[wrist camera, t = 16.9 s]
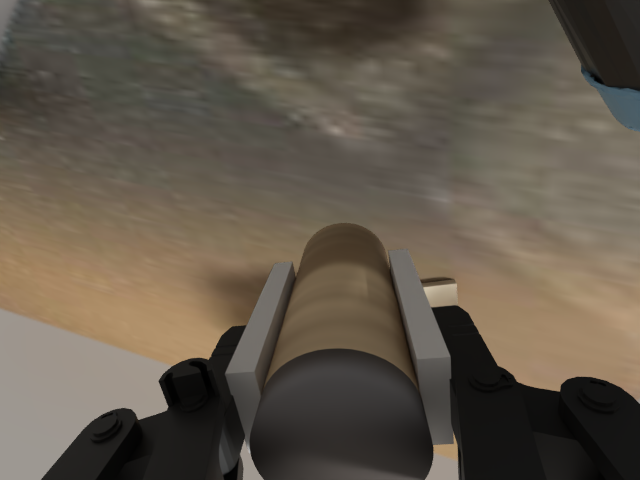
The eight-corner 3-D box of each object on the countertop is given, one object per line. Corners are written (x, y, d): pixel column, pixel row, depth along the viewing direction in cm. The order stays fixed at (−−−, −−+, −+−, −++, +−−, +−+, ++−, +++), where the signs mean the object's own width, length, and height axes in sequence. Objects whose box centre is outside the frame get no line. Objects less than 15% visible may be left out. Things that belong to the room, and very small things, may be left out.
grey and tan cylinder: (295, 229, 17) (229, 388, 8) (382, 217, 16) (427, 372, 7) (310, 304, 18) (270, 517, 9) (391, 295, 18) (438, 511, 8)
